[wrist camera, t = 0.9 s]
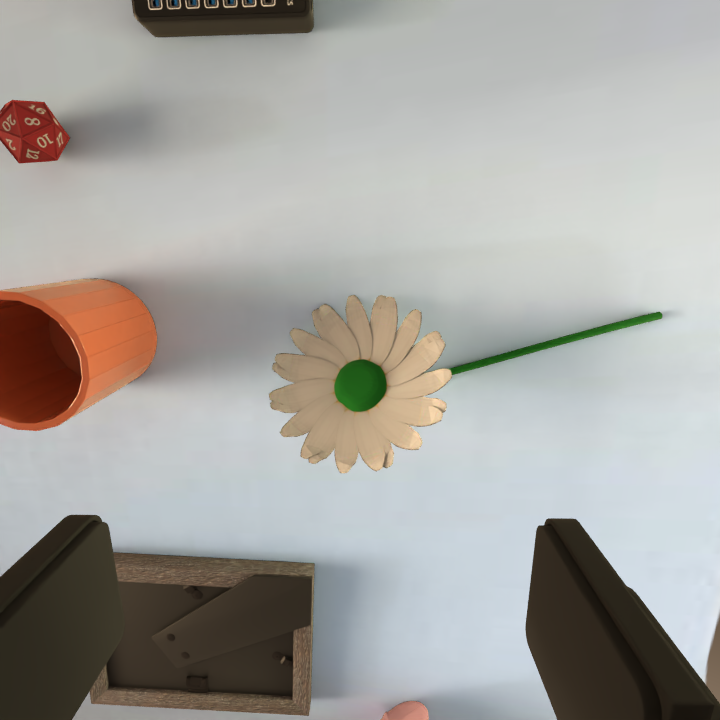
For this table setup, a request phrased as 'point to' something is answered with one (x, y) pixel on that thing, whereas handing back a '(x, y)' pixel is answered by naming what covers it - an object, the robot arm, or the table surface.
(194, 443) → the table surface
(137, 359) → the cup
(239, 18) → the multiport hub
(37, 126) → the dice
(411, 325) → the flower
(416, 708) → the video game controller
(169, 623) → the picture frame
